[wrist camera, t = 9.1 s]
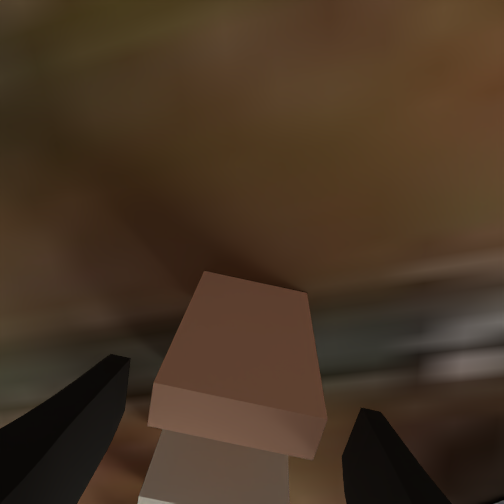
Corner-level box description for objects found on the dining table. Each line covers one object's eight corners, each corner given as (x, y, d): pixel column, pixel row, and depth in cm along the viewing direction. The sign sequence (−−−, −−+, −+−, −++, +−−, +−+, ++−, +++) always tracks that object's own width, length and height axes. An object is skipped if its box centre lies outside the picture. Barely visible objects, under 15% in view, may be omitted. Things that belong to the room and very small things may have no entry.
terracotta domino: (298, 321, 19) (313, 460, 11) (199, 300, 19) (147, 425, 11) (306, 292, 18) (327, 419, 11) (204, 270, 18) (153, 382, 11)
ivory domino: (278, 394, 21) (278, 558, 13) (186, 374, 20) (133, 528, 13) (285, 370, 20) (290, 526, 12) (190, 350, 20) (138, 495, 12)
